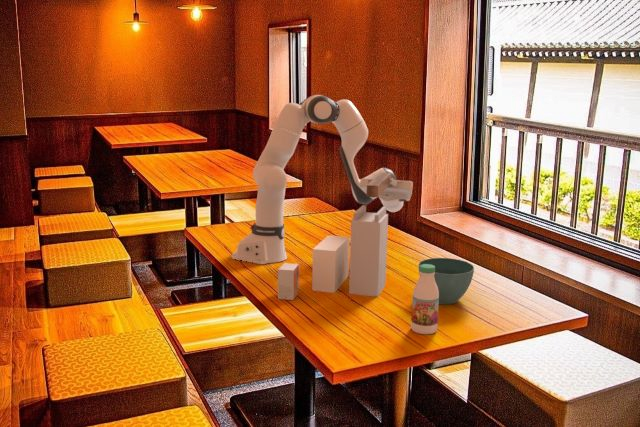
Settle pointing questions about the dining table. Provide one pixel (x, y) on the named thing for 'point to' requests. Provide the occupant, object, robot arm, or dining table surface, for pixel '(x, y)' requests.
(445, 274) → the green bowl
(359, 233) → the stand
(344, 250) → the block
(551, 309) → the dining table surface
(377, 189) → the rod
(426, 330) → the milk bottle
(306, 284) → the dining table surface
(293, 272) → the small box
